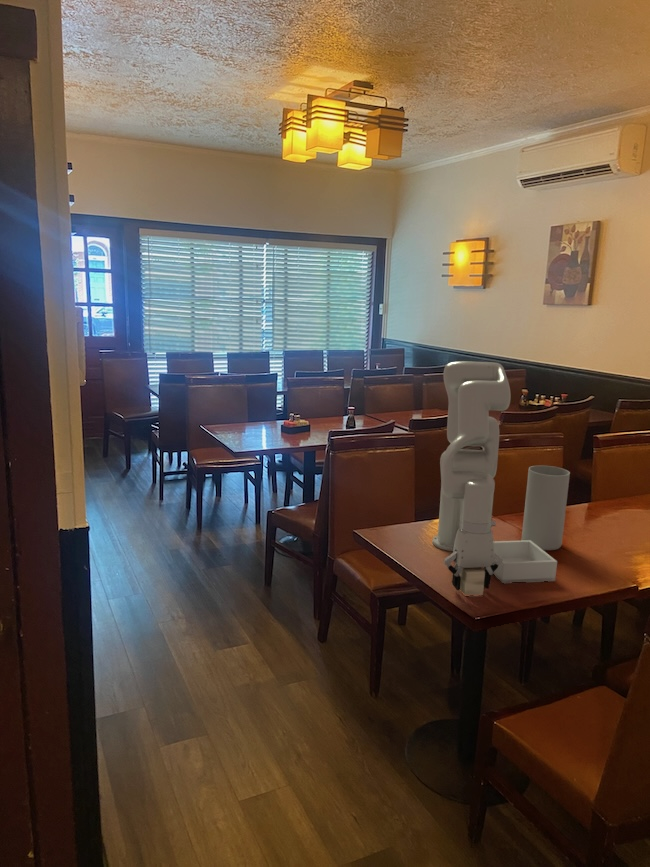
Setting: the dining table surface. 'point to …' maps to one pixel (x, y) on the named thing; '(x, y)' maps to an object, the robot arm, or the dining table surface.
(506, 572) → the bin
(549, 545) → the cylinder vase
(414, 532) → the dining table surface
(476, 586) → the birch block
